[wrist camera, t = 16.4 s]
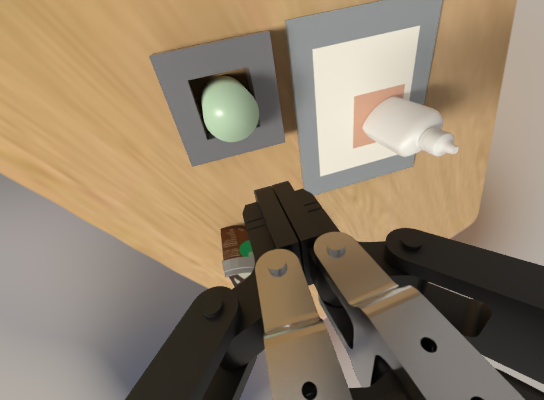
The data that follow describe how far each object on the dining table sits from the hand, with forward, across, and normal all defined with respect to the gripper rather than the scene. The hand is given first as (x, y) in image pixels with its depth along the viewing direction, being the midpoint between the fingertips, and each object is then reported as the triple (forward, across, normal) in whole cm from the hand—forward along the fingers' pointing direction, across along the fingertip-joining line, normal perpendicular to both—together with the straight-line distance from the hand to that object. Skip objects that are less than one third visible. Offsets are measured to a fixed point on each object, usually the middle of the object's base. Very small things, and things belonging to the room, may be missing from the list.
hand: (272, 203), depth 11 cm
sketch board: (+21, -17, +5) cm, 28 cm away
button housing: (+21, 0, 0) cm, 21 cm away
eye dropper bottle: (+21, -19, +6) cm, 29 cm away
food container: (+22, +2, +22) cm, 31 cm away
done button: (+21, 0, 0) cm, 21 cm away
